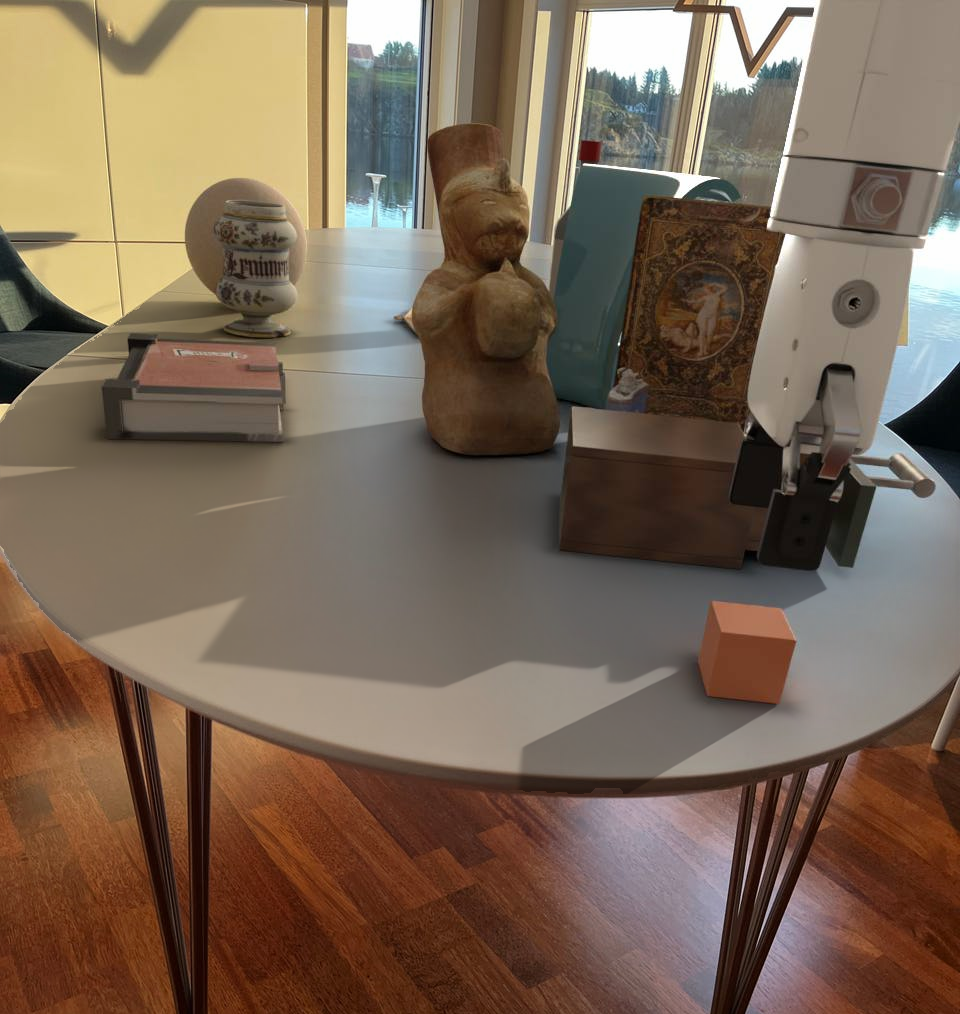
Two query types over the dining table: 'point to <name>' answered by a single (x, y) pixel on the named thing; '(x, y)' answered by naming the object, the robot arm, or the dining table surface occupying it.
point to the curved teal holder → (605, 271)
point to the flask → (628, 393)
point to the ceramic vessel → (484, 307)
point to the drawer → (855, 503)
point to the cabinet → (652, 488)
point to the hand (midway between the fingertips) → (768, 533)
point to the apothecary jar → (255, 266)
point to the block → (746, 652)
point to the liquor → (587, 155)
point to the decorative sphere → (210, 207)
